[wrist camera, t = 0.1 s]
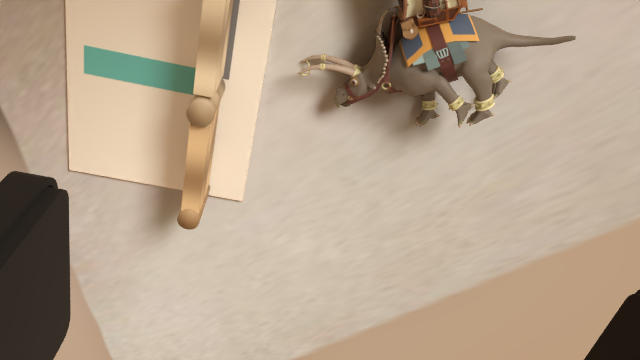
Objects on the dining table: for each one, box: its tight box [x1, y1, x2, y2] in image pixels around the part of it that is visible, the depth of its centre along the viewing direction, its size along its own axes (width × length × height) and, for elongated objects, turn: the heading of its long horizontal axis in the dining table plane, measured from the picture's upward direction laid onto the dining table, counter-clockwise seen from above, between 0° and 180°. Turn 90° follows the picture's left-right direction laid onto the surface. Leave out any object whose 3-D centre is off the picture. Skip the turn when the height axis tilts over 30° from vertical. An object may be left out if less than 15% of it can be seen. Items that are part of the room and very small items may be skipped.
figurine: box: [298, 0, 576, 128], centre depth 41 cm, size 20×6×17 cm
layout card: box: [65, 0, 277, 201], centre depth 45 cm, size 22×16×1 cm
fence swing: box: [177, 103, 220, 229], centre depth 46 cm, size 10×2×5 cm, turn 168°
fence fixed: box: [186, 0, 233, 127], centre depth 40 cm, size 12×2×6 cm, turn 168°
